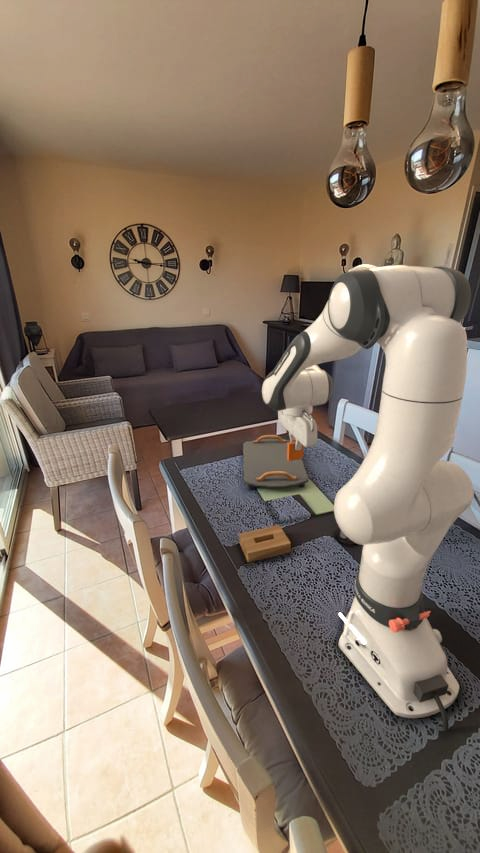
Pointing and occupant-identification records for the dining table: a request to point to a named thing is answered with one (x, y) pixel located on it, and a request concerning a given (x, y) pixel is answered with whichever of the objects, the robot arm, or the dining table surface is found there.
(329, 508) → the mat
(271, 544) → the token holder
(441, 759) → the dining table surface
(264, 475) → the serving tray
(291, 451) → the block
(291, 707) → the dining table surface
